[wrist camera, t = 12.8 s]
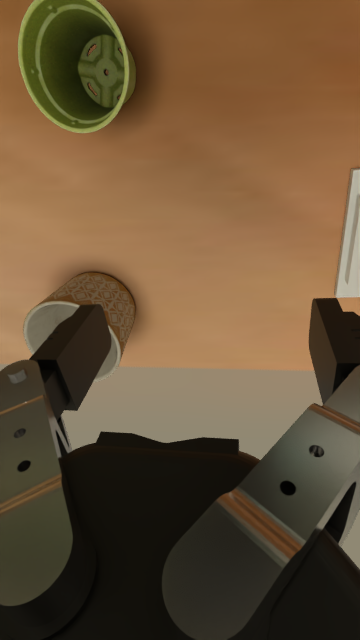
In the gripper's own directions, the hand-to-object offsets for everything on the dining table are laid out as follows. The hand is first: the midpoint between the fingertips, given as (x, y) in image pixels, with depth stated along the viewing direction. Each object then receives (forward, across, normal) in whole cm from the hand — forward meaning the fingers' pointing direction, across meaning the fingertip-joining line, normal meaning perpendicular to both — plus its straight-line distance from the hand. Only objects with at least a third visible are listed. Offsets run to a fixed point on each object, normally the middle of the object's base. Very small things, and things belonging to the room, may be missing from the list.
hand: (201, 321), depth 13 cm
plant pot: (+30, +12, -11) cm, 34 cm away
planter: (+30, +20, +16) cm, 40 cm away
